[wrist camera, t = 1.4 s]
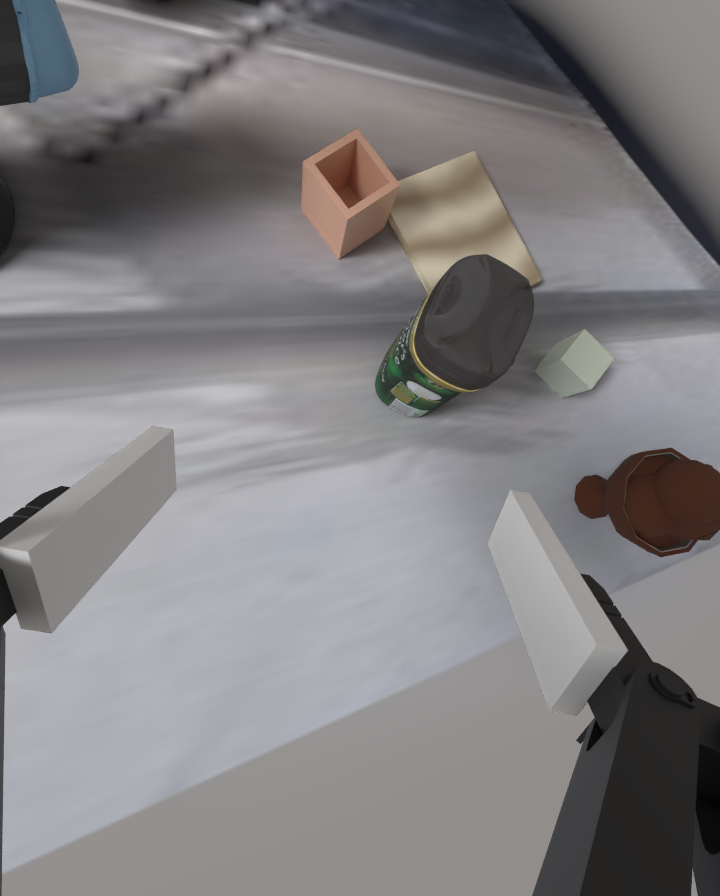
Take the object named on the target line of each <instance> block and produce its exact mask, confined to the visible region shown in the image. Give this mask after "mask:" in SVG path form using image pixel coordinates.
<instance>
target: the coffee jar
mask: <svg viewBox="0 0 720 896" xmlns="http://www.w3.org/2000/svg"><path fill="white" fill-rule="evenodd" d="M533 310H534V300H533V293H532V290H531V287H530V282H529V280H528V279H527V278H526V277H524V276H523V275H522V274H520V273H519V272H518V271H516V270H515V269H513V268H512V267H510V266H509V265H507V264H505V263H503V262H502V261H500V260H498V259H496V258H494V257H492V256H490V255H488V254H482V255H471V256H467V257H464V258H462V259H460V260H459V261H457V262H456V263H454V264H453V265H452V266H451V267H450V268H449V269H448V270H447V272H446V273H445V274H444V275H443V276H442V277H441V278H440V279H439V281H438V282H437V283H436V285H435V286H434V288H433V289H432V290H431V292H430V293H429V294H428V296H427V297H426V299H425V300H424V301H423V303H422V304H421V305H420V307H419V308H418V309H417V311H416V312H415V313H414V315H413V316H412V317H411V319H410V320H409V322H408V323H407V324H406V326H405V327H404V329H403V330H402V331H401V333H400V334H399V335H398V337H397V338H396V339H395V341H394V342H393V344H392V345H391V347H390V348H389V350H388V352H387V353H386V355H385V357H384V360H383V362H382V364H381V366H380V368H379V371H378V374H377V377H376V382H375V388H376V392H377V395H378V396H379V398H380V399H381V401H382V402H384V403H385V404H386V405H387V406H389V407H390V408H392V409H393V410H395V411H397V412H399V413H401V414H404V415H407V416H410V417H421V416H423V415H425V414H427V413H429V412H431V411H433V410H434V409H436V408H437V407H439V406H441V405H442V404H444V403H445V402H447V401H449V400H450V399H452V398H454V397H456V396H457V395H459V394H461V393H462V392H464V393H467V392H474V391H478V390H481V389H483V388H485V387H487V386H488V385H490V384H491V383H492V382H494V381H495V380H497V379H498V378H500V377H501V376H502V375H503V374H504V373H505V372H506V371H507V370H508V369H509V368H510V366H511V365H512V364H513V361H514V359H515V357H516V355H517V353H518V351H519V349H520V346H521V344H522V342H523V340H524V337H525V335H526V332H527V330H528V328H529V324H530V322H531V319H532V315H533Z"/></svg>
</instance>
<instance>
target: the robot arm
mask: <svg viewBox="0 0 720 896" xmlns="http://www.w3.org/2000/svg"><path fill="white" fill-rule="evenodd" d="M78 75H79V66H78V62H77V58H76V55H75V52H74V50H73V47H72V44H71V41H70V39H69V36H68V33H67V31H66V28H65V25H64V23H63V20H62V17H61V15H60V12H59V10H58V7H57V5H56V2H55V0H0V106H3V105H10V104H16V103H23V102H29V103H33V102H36V101H37V100H38V98H40V97H44V96H48V95H52V94H56V93H60V92H64V91H68V90H70V89H71V88H72V87H73V85H74V84H75V83H76V82H77V80H78ZM13 222H14V210H13V203H12V199H11V196H10V193H9V191H8V189H7V187H6V185H5V183H4V181H3V180H2V178H1V177H0V254H1V252H2V251H3V250H4V248H5V246H6V245H7V243H8V241H9V238H10V236H11V232H12V228H13ZM175 491H176V471H175V453H174V434H173V429H167V428H162V427H156V426H152V427H151V428H150V429H148V430H147V431H145V432H144V433H143V434H141V435H140V436H139V437H137V438H136V439H135V440H133V441H132V442H131V443H129V444H128V445H127V446H125V447H124V448H123V449H121V450H120V451H119V452H117V453H116V454H115V455H113V456H112V457H111V458H109V459H108V460H107V461H105V462H104V463H103V464H101V465H100V466H99V467H97V468H96V469H95V470H93V471H92V472H91V473H89V474H88V475H87V476H85V477H84V478H83V479H81V480H80V481H79V482H77V483H76V484H75V485H73V486H72V487H71V488H70V487H65V486H60V487H58V488H55V489H53V490H50V491H48V492H45V493H43V494H41V495H39V496H38V497H37V498H35V499H34V500H32V501H31V502H29V503H28V504H27V505H26V506H25V508H23V507H22V508H21V509H20V510H18V511H17V512H15V513H14V514H13V516H12V517H8V518H7V519H5V520H4V521H2V522H1V523H0V896H1V885H2V884H1V883H2V822H3V759H4V696H5V632H4V629H3V625H4V624H5V623H6V622H7V621H8V620H9V619H10V618H11V617H12V616H13V615H14V614H15V613H16V615H17V618H18V621H19V624H20V627H21V629H27V630H34V631H40V632H47V633H52V632H53V631H54V630H55V629H56V628H57V627H58V626H59V624H60V623H61V622H62V621H63V620H64V619H65V618H66V616H67V615H68V614H69V613H70V612H71V611H72V609H73V608H74V607H75V606H76V605H77V604H78V603H79V601H80V600H81V599H82V598H83V597H84V596H85V595H86V593H87V592H88V591H89V590H90V589H91V588H92V586H93V585H94V584H95V583H96V582H97V581H98V580H99V578H100V577H101V576H102V575H103V574H104V573H105V572H106V570H107V569H108V568H109V567H110V566H111V565H112V563H113V562H114V561H115V560H116V559H117V558H118V557H119V555H120V554H121V553H122V552H123V551H124V550H125V549H126V547H127V546H128V545H129V544H130V543H131V542H132V540H133V539H134V538H135V537H136V536H137V535H138V534H139V532H140V531H141V530H142V529H143V528H144V527H145V526H146V524H147V523H148V522H149V521H150V520H151V519H152V517H153V516H154V515H155V514H156V513H157V512H158V511H159V509H160V508H161V507H162V506H163V505H164V504H165V503H166V501H167V500H168V499H169V498H170V497H171V496H172V494H173V493H174V492H175ZM487 544H488V547H489V549H490V552H491V555H492V558H493V560H494V563H495V566H496V568H497V571H498V574H499V576H500V579H501V582H502V584H503V587H504V590H505V592H506V595H507V598H508V600H509V603H510V606H511V608H512V611H513V614H514V617H515V619H516V622H517V625H518V627H519V630H520V633H521V635H522V638H523V641H524V643H525V646H526V649H527V651H528V654H529V657H530V659H531V662H532V665H533V668H534V670H535V673H536V675H537V678H538V681H539V683H540V686H541V689H542V692H543V694H544V697H545V699H546V702H547V705H548V708H549V710H550V711H552V712H558V713H565V714H571V715H578V714H579V713H580V711H581V710H582V709H583V708H584V706H585V705H586V703H587V702H588V703H589V705H590V708H591V710H592V712H593V714H594V716H595V718H594V719H593V720H592V722H591V723H590V724H589V725H588V726H587V728H586V729H585V730H584V731H583V733H582V734H581V735H580V736H579V738H578V739H577V741H578V742H579V743H580V744H581V743H582V742H583V744H582V747H581V750H580V753H579V756H578V760H577V762H576V765H575V768H574V772H573V774H572V778H571V780H570V783H569V787H568V789H567V792H566V796H565V798H564V801H563V805H562V807H561V811H560V813H559V816H558V820H557V823H556V826H555V829H554V832H553V835H552V838H551V841H550V844H549V847H548V850H547V853H546V856H545V859H544V862H543V865H542V868H541V871H540V874H539V877H538V880H537V883H536V886H535V889H534V892H533V895H532V896H691V884H692V866H693V872H694V877H695V882H696V887H697V893H698V896H720V707H718V706H715V705H713V704H710V703H708V702H706V701H704V700H701V699H699V698H697V696H696V695H695V693H694V692H693V690H692V689H691V688H690V687H689V685H688V684H687V683H685V681H684V680H683V679H682V678H680V677H679V676H678V675H677V674H675V673H674V672H673V671H671V670H670V669H668V668H666V667H664V666H662V665H660V664H658V663H655V662H653V661H652V660H651V658H650V657H649V656H648V654H647V652H646V651H645V649H644V648H643V646H642V645H641V643H640V642H639V640H638V639H637V637H636V636H635V635H634V633H633V632H632V630H631V629H630V627H629V626H628V624H627V623H626V621H625V620H624V618H621V614H620V612H619V611H618V609H617V608H616V606H613V602H612V600H611V599H610V597H609V596H608V594H607V593H606V591H605V590H604V588H602V587H601V586H600V585H599V584H598V583H597V582H596V581H595V580H594V579H593V578H592V577H591V576H590V575H585V574H580V573H579V571H578V570H577V568H576V567H575V565H574V563H573V562H572V560H571V559H570V557H569V555H568V554H567V552H566V551H565V549H564V547H563V546H562V544H561V543H560V541H559V540H558V538H557V536H556V535H555V533H554V532H553V530H552V528H551V527H550V525H549V524H548V522H547V520H546V519H545V517H544V516H543V514H542V513H541V511H540V509H539V508H538V506H537V505H536V503H535V501H534V500H533V498H532V497H531V495H530V493H526V492H520V491H515V490H510V492H509V494H508V496H507V499H506V501H505V503H504V506H503V508H502V510H501V513H500V515H499V517H498V520H497V522H496V524H495V527H494V529H493V531H492V534H491V536H490V538H489V541H488V543H487Z"/></svg>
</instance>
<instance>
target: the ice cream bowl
mask: <svg viewBox="0 0 720 896" xmlns="http://www.w3.org/2000/svg"><path fill="white" fill-rule="evenodd" d="M574 500H575V502H576V504H577V506H578V509H579V511H580V513H582V514H584V515H585V516H587V517H589V518H591V519H593V518H599V517H604V516H606V515H607V514H609V516H610V518H611V521H612V523H613V525H614V527H615V529H616V531H617V532H618V533H619V534H620V535H622V536H623V537H624V538H626V539H628V540H629V541H631V542H633V543H634V544H636V545H638V546H639V547H641V548H643V549H645V550H646V551H648V552H650V553H653V554H655V555H657V556H659V557H664V556H669V555H674V554H679V553H684V552H689V551H690V550H691V548H692V547H693V546H694V545H695V543H696V542H697V541H698V540H710V539H711V538H712V537H713V536H714V535H715V534H716V533H717V532H718V531H719V530H720V473H719V472H718V471H717V470H715V469H714V468H713V467H712V466H711V465H707V464H703V463H701V462H698V461H696V460H690V459H688V458H687V457H685V456H684V455H682V454H681V453H679V452H677V451H676V450H674V449H673V448H667V449H660V450H652V451H645V452H641V453H637V454H634V455H631V456H630V457H628V458H627V459H625V460H624V461H623V462H622V464H621V465H620V466H619V467H618V468H617V469H616V470H615V472H614V473H613V474H612V475H611V476H610V477H609V478H608V481H607V480H605V479H603V478H602V477H600V476H598V475H592V476H586V477H584V478H583V479H582V480H581V481H580V482H579V483H578V485H577V486H576V491H575V499H574Z"/></svg>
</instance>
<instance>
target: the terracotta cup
mask: <svg viewBox="0 0 720 896" xmlns="http://www.w3.org/2000/svg"><path fill="white" fill-rule="evenodd" d="M399 187H400V184H399V182H398V181H397V180H396V178H395V177H394V176H393V174H392V173H391V172H390V170H389V169H388V168H387V166H386V165H385V164H384V162H383V161H382V160H381V158H380V157H379V156H378V154H377V153H376V152H375V150H374V149H373V148H372V146H371V145H370V144H369V142H368V141H367V140H366V138H365V137H364V136H363V134H362V133H361V132H360V130H359V129H358V128H357V129H355V130H354V131H352V132H350V133H349V134H347V135H345V136H344V137H342V138H340V139H339V140H337V141H335V142H334V143H332V144H330V145H329V146H327V147H325V148H324V149H322V150H320V151H319V152H317V153H316V154H314V155H312V156H311V157H309V158H307V159H306V160H304V161H303V169H302V198H301V211H302V212H303V213H304V214H305V216H306V217H307V218H308V220H309V221H310V222H311V224H312V225H313V226H314V227H315V229H316V230H317V231H318V233H319V234H320V235H321V237H322V238H323V239H324V240H325V242H326V243H327V244H328V246H329V247H330V248H331V250H332V251H333V252H334V253H335V255H336V256H337V257H338V259H340V258H341V257H343V256H344V255H346V254H347V253H349V252H350V251H352V250H353V249H355V248H356V247H357V246H359V245H360V244H362V243H363V242H365V241H366V240H368V239H369V238H371V237H372V236H374V235H375V234H377V233H378V232H380V231H381V230H383V229H384V228H385V225H386V222H387V220H388V217H389V214H390V211H391V209H392V206H393V203H394V201H395V198H396V195H397V193H398V190H399Z"/></svg>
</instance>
